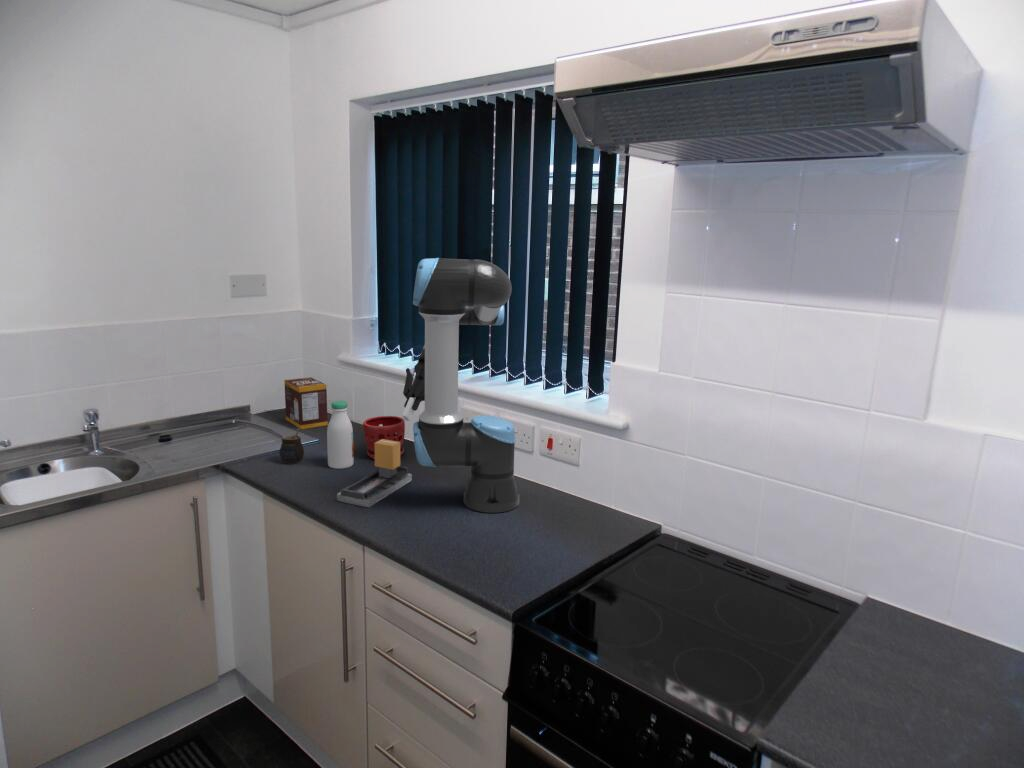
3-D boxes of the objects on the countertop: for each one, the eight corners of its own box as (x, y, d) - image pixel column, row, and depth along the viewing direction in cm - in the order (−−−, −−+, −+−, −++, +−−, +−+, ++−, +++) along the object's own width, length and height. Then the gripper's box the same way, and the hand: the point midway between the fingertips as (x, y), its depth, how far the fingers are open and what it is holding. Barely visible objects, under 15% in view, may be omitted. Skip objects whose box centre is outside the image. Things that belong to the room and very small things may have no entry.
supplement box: (311, 415, 258) (310, 376, 255) (328, 425, 247) (327, 384, 243) (285, 419, 252) (283, 379, 249) (300, 429, 240) (299, 387, 237)
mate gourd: (275, 464, 204) (273, 432, 202) (287, 456, 212) (286, 426, 210) (296, 466, 203) (295, 434, 201) (308, 458, 211) (307, 428, 208)
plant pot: (399, 448, 224) (399, 413, 221) (409, 460, 212) (409, 424, 209) (360, 451, 219) (359, 416, 216) (367, 464, 207) (367, 427, 204)
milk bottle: (350, 469, 202) (348, 406, 197) (324, 468, 202) (322, 405, 198) (356, 461, 209) (355, 399, 205) (332, 460, 209) (330, 398, 205)
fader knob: (382, 471, 195) (382, 438, 192) (400, 475, 192) (400, 441, 190) (374, 476, 191) (374, 442, 189) (392, 479, 189) (392, 445, 186)
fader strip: (382, 474, 199) (382, 463, 198) (413, 480, 195) (413, 468, 194) (335, 501, 178) (335, 488, 178) (368, 508, 175) (368, 495, 174)
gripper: (456, 363, 209) (429, 427, 198) (419, 359, 214) (391, 421, 203) (448, 349, 204) (420, 414, 192) (411, 345, 208) (381, 408, 197)
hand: (405, 418), depth 198 cm, fingers closed
